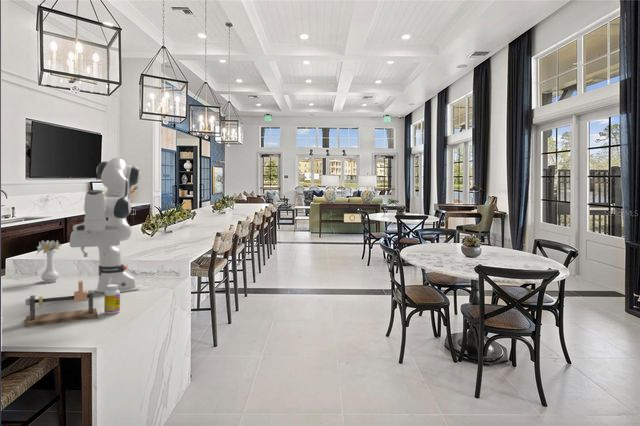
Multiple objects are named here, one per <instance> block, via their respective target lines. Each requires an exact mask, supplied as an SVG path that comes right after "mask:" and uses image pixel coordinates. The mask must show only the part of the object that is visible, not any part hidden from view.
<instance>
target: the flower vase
mask: <svg viewBox="0 0 640 426" xmlns="http://www.w3.org/2000/svg"><path fill="white" fill-rule="evenodd" d="M38 243H39V244H38V246H36V249H37V253H36V255H38V254H39V252H42V251H43V252H42V253H43V254H46V267H45V270H44V271H43V272H42V273H41V275H40V278H41V280H43V282H44V283H46V284H47V283H48V284H49V283H50V284H51V283H55V282H57V280H58V279H59V277H60V273H59V272H58V271H57V270H56V268H55V267H54V254H56V250H58V251H60V252H62V253H63V250H62V249H61V248H63V246H62V244H61V243H60V242H59V240H56V241H55V240H50V241H49V239H48V240H46V241H45V240H41V241H39V242H38Z"/></svg>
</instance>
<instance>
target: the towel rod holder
mask: <svg viewBox="0 0 640 426" xmlns="http://www.w3.org/2000/svg"><path fill="white" fill-rule="evenodd" d="M88 294H89V298H87V301H88V304H87V305H88V309H87V308H85V309H77V310H69V311H61V312H60V311H59V312H49V313H40V314H36V303H35V299H36V295H30V296H29V298H30V305H29V315H26V317H25V321H24V327H33V326H42V325H43V326H44V325H51V324H59V323H60V324H61V323H69V322H75V321H85V320H92V319H98V318H99V315H98V311H97V307H95V308H94V291H93V289H91V290H87V295H88Z"/></svg>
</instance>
